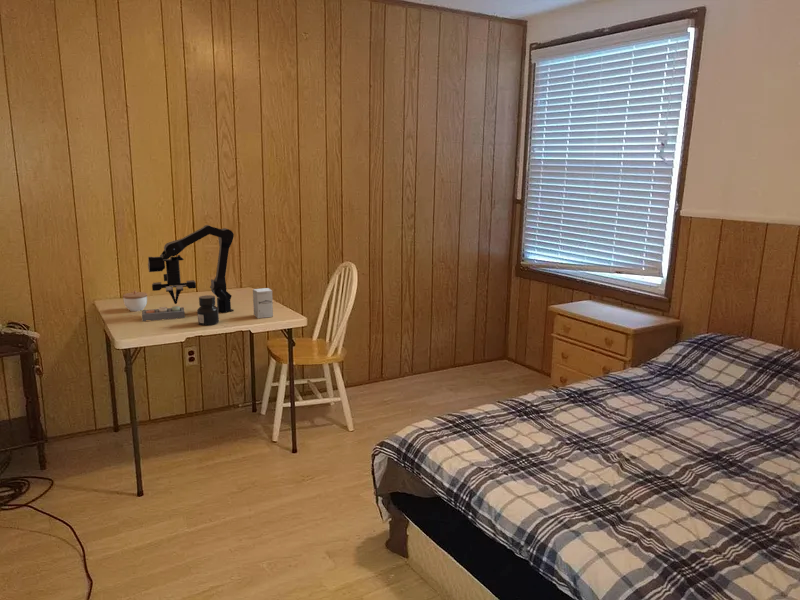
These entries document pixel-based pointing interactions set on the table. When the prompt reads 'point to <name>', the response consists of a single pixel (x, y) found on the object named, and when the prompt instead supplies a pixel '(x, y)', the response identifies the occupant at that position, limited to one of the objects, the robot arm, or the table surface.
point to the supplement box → (262, 302)
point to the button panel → (163, 314)
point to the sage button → (176, 308)
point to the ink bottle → (207, 311)
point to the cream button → (163, 309)
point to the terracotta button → (150, 311)
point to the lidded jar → (135, 300)
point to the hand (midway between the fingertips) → (175, 303)
